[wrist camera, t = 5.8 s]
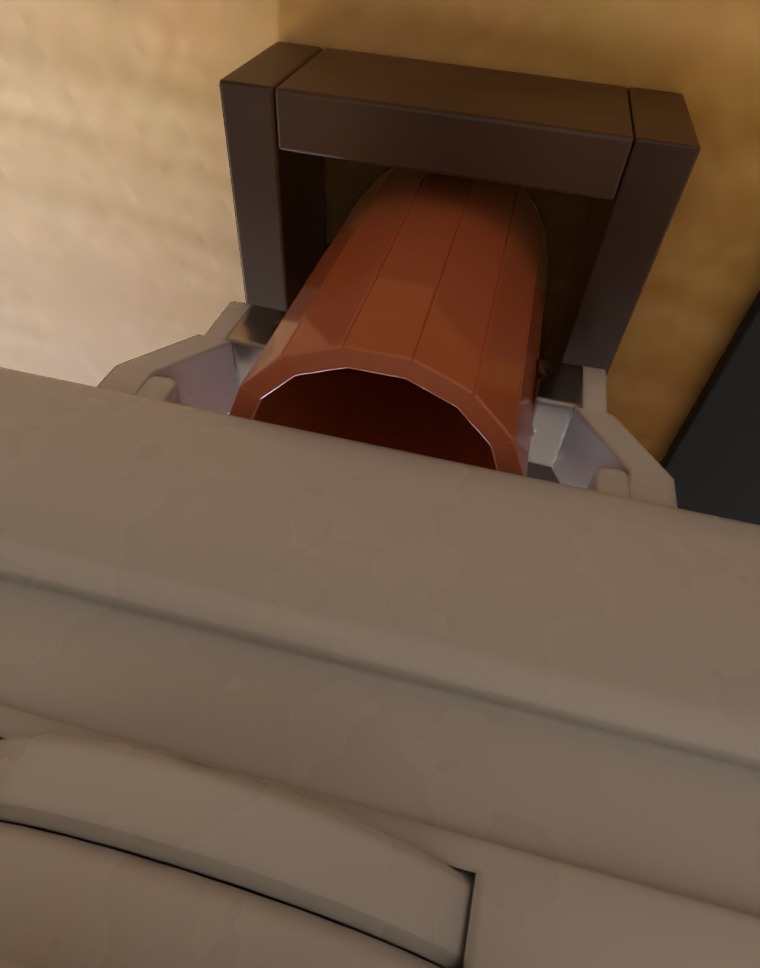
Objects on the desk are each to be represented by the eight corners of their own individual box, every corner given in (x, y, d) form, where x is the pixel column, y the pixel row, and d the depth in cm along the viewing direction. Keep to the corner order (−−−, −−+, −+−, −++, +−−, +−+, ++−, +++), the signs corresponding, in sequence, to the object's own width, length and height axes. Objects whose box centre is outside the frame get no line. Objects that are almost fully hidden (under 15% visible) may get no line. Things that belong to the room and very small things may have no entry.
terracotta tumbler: (574, 169, 15) (561, 387, 9) (521, 359, 19) (489, 591, 14) (351, 136, 16) (204, 319, 10) (347, 326, 20) (244, 534, 14)
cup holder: (683, 93, 14) (702, 146, 11) (510, 557, 27) (502, 625, 25) (276, 40, 15) (217, 79, 12) (304, 511, 28) (278, 572, 26)
